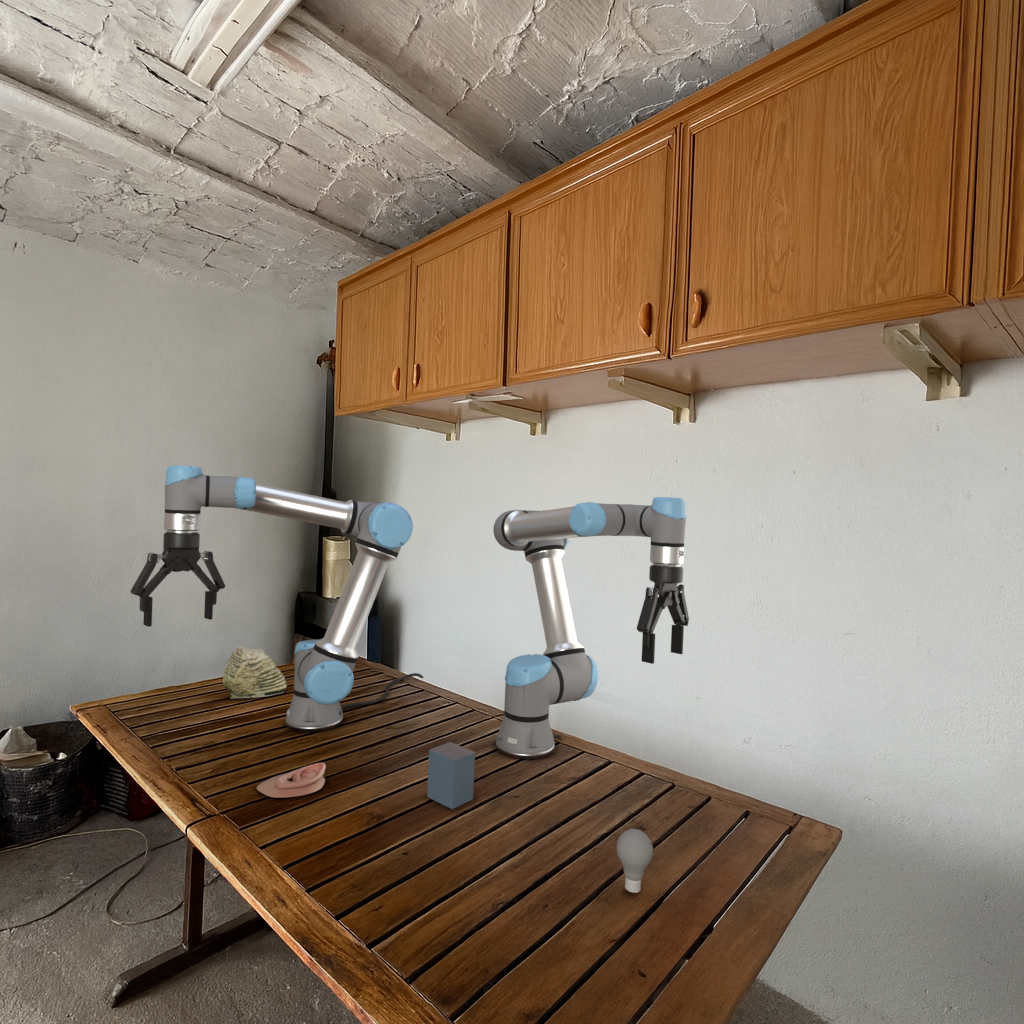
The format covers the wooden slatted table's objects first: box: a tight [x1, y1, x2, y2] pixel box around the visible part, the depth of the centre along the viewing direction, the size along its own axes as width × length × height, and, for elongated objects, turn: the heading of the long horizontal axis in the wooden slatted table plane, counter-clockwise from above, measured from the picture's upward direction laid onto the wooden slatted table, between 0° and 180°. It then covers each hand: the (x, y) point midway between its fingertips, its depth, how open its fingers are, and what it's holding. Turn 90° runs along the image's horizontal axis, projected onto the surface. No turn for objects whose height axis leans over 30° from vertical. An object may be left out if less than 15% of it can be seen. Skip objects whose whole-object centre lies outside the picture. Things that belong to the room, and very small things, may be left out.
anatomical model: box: [256, 762, 327, 799], centre depth 137 cm, size 13×4×12 cm
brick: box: [426, 741, 476, 810], centre depth 136 cm, size 6×8×10 cm
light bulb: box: [615, 828, 654, 894], centre depth 106 cm, size 6×6×10 cm
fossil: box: [222, 646, 288, 699], centre depth 198 cm, size 9×18×15 cm, turn 132°
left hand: (178, 622), depth 148 cm, fingers open, 13 cm apart
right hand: (662, 657), depth 145 cm, fingers open, 13 cm apart
